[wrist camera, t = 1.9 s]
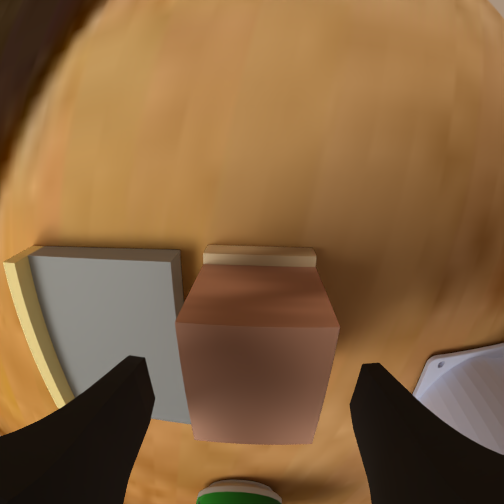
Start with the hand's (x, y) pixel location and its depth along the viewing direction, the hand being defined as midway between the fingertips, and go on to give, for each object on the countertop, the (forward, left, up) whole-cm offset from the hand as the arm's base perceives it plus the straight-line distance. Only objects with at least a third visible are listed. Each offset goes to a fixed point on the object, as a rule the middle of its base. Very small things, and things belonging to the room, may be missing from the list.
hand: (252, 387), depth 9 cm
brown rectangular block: (0, 0, -5) cm, 5 cm away
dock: (+7, +2, -5) cm, 9 cm away
